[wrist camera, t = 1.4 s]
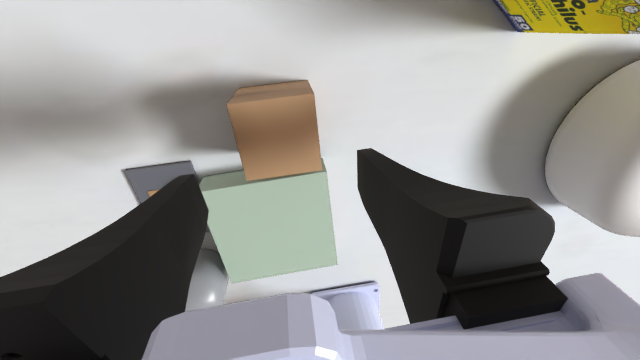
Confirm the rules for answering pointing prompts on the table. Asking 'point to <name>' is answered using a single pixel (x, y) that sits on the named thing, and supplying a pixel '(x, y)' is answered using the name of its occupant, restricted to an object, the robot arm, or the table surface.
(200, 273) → the grey cylinder
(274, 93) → the walnut cube
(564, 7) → the supplement box
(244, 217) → the sage slab
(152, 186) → the card
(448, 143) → the table surface
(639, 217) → the donut shape
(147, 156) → the table surface
